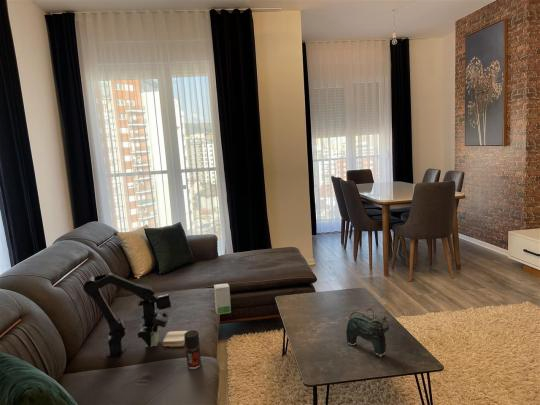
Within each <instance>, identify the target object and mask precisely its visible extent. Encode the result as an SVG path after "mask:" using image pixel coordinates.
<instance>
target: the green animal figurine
mask: <svg viewBox="0 0 540 405" xmlns="http://www.w3.org/2000/svg"><path fill="white" fill-rule="evenodd" d="M368 311H371V312H372V314H373V316H372V318H371V317H370V316H367V315H365V314H363V313H362V312H359V311H357V312H356V311H355V312H354V311H353V312H352V313H351V314H350V316H349V320H347V324H346V330H345V334H346V341H347V343H348V342H349V343H351V344H354V343H356V344H357V339H358V337H360V338H362V339H363V340H366V341H369V342H371V345H372V346H373V348H374V353H375V352H376V353H378V354H383V353H384V352H385V351H386V350H387V349H386V347H387V344H386V335H385V333H387V332H388V331H389V330H390V322H389V321H388V320H387V317H386V316H383V317H378V315H377V314H375V312H374V311H373V309H372V308H367V310H366V312H368ZM354 314H355V315H354ZM353 315H354V316H353Z"/></svg>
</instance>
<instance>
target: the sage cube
mask: <svg viewBox="0 0 540 405" xmlns="http://www.w3.org/2000/svg"><path fill="white" fill-rule="evenodd" d="M153 333H154V334H153V336H152V337H151V346H150V347H149V348H151V347H152V346H156V347H157V346H158V344H159V343H158V342H160V336H159V331H157V332H153ZM145 347H146V348H148V345H147V344H146V343H145ZM152 348H153V347H152Z"/></svg>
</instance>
